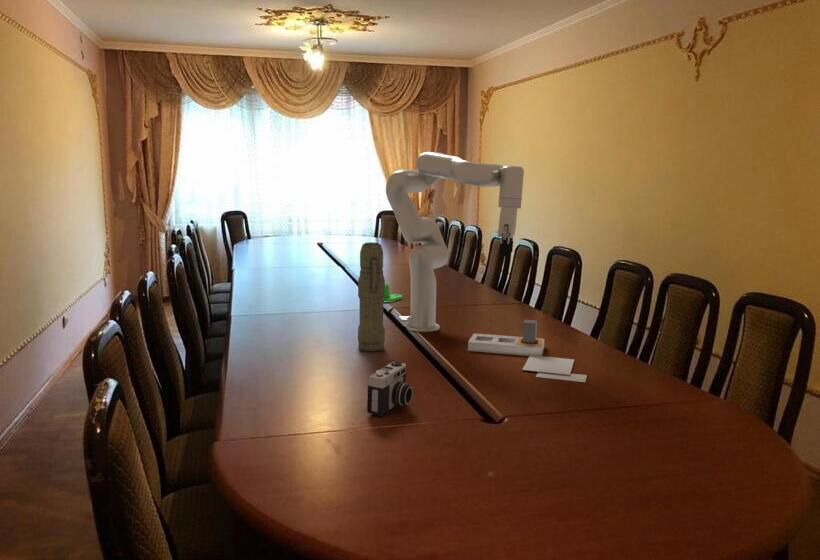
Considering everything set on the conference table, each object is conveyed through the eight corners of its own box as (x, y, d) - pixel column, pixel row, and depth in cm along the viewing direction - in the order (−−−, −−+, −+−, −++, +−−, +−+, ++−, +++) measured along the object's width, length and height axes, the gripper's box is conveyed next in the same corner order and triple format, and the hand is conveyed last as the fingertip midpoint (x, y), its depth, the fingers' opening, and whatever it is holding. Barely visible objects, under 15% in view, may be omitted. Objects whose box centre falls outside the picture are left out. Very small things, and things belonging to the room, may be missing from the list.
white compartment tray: (467, 350, 212) (468, 341, 211) (473, 341, 223) (473, 332, 223) (541, 356, 206) (542, 347, 205) (543, 347, 217) (544, 338, 217)
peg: (522, 352, 211) (523, 322, 210) (523, 348, 215) (524, 319, 213) (534, 353, 210) (535, 323, 209) (535, 349, 214) (536, 320, 212)
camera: (392, 420, 152) (392, 379, 150) (361, 412, 157) (361, 372, 155) (422, 402, 164) (423, 365, 162) (392, 395, 168) (393, 359, 167)
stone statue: (378, 342, 221) (379, 240, 215) (389, 351, 210) (390, 244, 204) (353, 344, 218) (353, 241, 212) (363, 353, 207) (363, 245, 201)
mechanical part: (389, 304, 286) (389, 286, 285) (378, 302, 290) (378, 284, 288) (404, 299, 296) (405, 282, 294) (394, 298, 299) (394, 281, 298)
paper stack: (605, 364, 199) (605, 362, 199) (602, 389, 176) (602, 387, 176) (530, 357, 207) (530, 355, 207) (517, 380, 183) (517, 377, 183)
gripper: (502, 201, 224) (498, 249, 227) (495, 203, 208) (491, 256, 211) (523, 202, 222) (519, 251, 225) (518, 205, 206) (514, 258, 209)
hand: (505, 253), depth 218 cm, fingers open, 9 cm apart
